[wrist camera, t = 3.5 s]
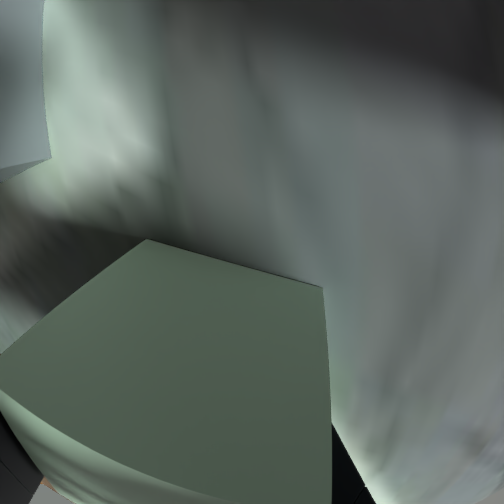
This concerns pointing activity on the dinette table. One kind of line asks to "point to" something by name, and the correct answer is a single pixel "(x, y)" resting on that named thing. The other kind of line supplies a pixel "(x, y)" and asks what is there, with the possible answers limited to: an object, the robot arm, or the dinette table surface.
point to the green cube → (177, 386)
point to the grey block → (21, 88)
